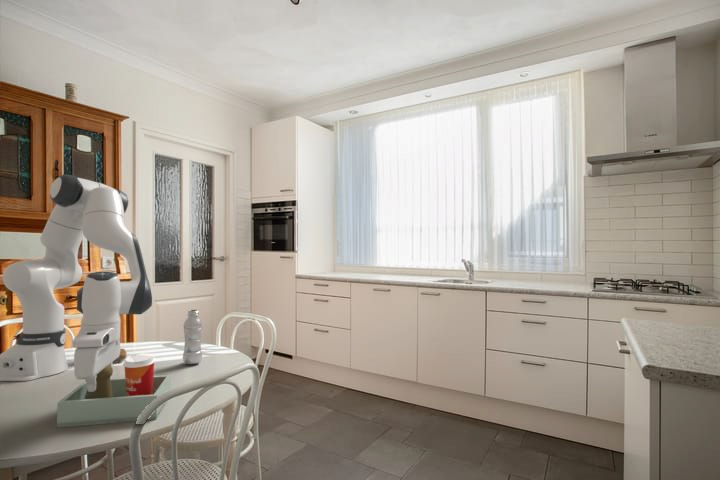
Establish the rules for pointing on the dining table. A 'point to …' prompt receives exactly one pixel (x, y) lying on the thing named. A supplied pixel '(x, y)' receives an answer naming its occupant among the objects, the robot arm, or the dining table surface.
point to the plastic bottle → (192, 338)
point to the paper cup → (139, 374)
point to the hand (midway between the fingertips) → (99, 384)
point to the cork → (103, 384)
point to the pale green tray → (108, 404)
